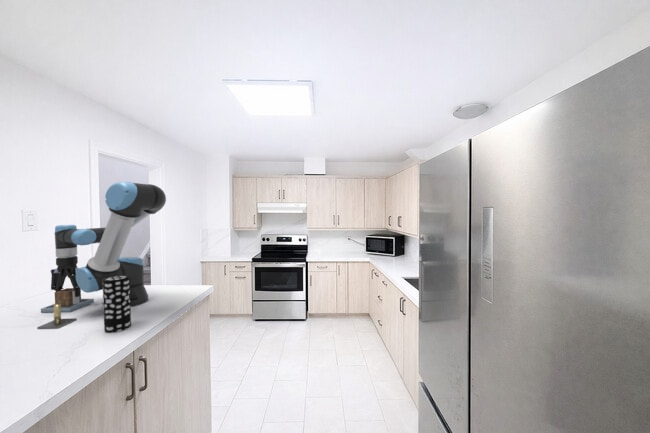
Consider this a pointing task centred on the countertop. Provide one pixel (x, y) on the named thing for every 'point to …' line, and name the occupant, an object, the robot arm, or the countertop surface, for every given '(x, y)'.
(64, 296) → the walnut block
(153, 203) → the robot arm
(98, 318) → the countertop surface
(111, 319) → the white-spotted black cylinder
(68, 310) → the tray
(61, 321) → the brass post base plate
